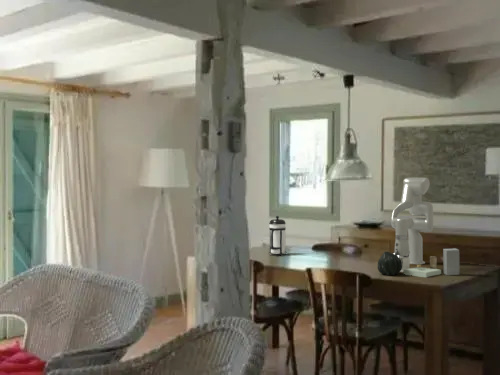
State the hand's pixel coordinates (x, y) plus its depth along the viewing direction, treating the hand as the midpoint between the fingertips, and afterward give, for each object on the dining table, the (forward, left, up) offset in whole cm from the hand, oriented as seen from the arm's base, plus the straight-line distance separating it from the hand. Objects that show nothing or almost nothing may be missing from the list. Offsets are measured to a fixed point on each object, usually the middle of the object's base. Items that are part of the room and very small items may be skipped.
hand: (401, 265), depth 403 cm
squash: (+2, -15, -4) cm, 16 cm away
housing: (0, 0, -4) cm, 4 cm away
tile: (+5, +12, -4) cm, 13 cm away
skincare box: (+28, +12, -4) cm, 31 cm away
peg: (+16, +11, -4) cm, 20 cm away
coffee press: (-112, -2, -4) cm, 112 cm away
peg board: (+16, -1, -4) cm, 16 cm away
